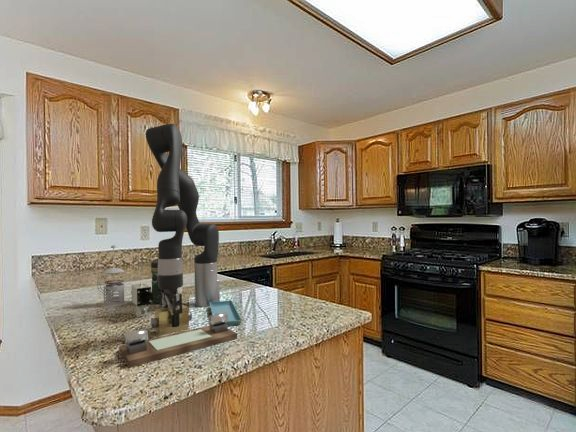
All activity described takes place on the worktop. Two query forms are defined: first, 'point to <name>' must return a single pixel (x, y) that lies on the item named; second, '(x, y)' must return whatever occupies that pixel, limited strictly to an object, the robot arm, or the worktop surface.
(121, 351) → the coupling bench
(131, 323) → the worktop surface
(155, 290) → the coffee jar
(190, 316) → the coupling block
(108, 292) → the french press
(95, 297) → the worktop surface
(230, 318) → the rectangular tray
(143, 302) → the pneumatic valve
